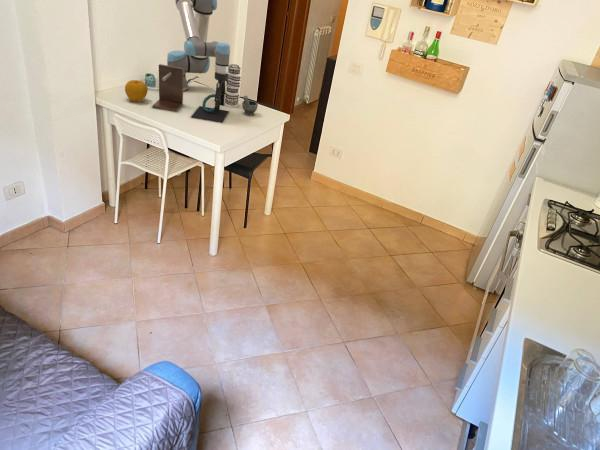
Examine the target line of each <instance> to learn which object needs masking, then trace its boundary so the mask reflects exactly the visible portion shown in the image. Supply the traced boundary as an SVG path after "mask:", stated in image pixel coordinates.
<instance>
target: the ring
mask: <svg viewBox="0 0 600 450" xmlns="http://www.w3.org/2000/svg"><path fill="white" fill-rule="evenodd" d="M212 98H215V93H211V94H209V95H207V96H206V97H205V98H204V99H203V101H202V103H201V106H202V107H203V109H204V111H206V112H208V113H210V112H214V111H215V106H214V107H212V108H213V109H206V107H207V106H206V105H207V102H208V101H209V100H210V99H212ZM217 100H218V99H217ZM220 102H221V99H220Z"/></svg>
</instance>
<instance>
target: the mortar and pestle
mask: <svg viewBox="0 0 600 450" xmlns="http://www.w3.org/2000/svg"><path fill="white" fill-rule="evenodd" d="M242 99H243V100H242V104H241V105H242V106H241V107H242V109H243V112H244V115H246V116H255V112H257V110H258V107H259V103H258V102H257V101H254V100H249V98H248V95H244V96H243V97H242Z"/></svg>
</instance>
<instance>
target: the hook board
mask: <svg viewBox="0 0 600 450" xmlns="http://www.w3.org/2000/svg"><path fill="white" fill-rule="evenodd" d="M183 106H184V91H183V68H179V67H173V66H167V64H162V63H159V64H158V100H157V101H155V103H153V104H152V109H157V110H163V111H169V112H173V113H177V112H178V111H179V110H180V109H182V107H183Z"/></svg>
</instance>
